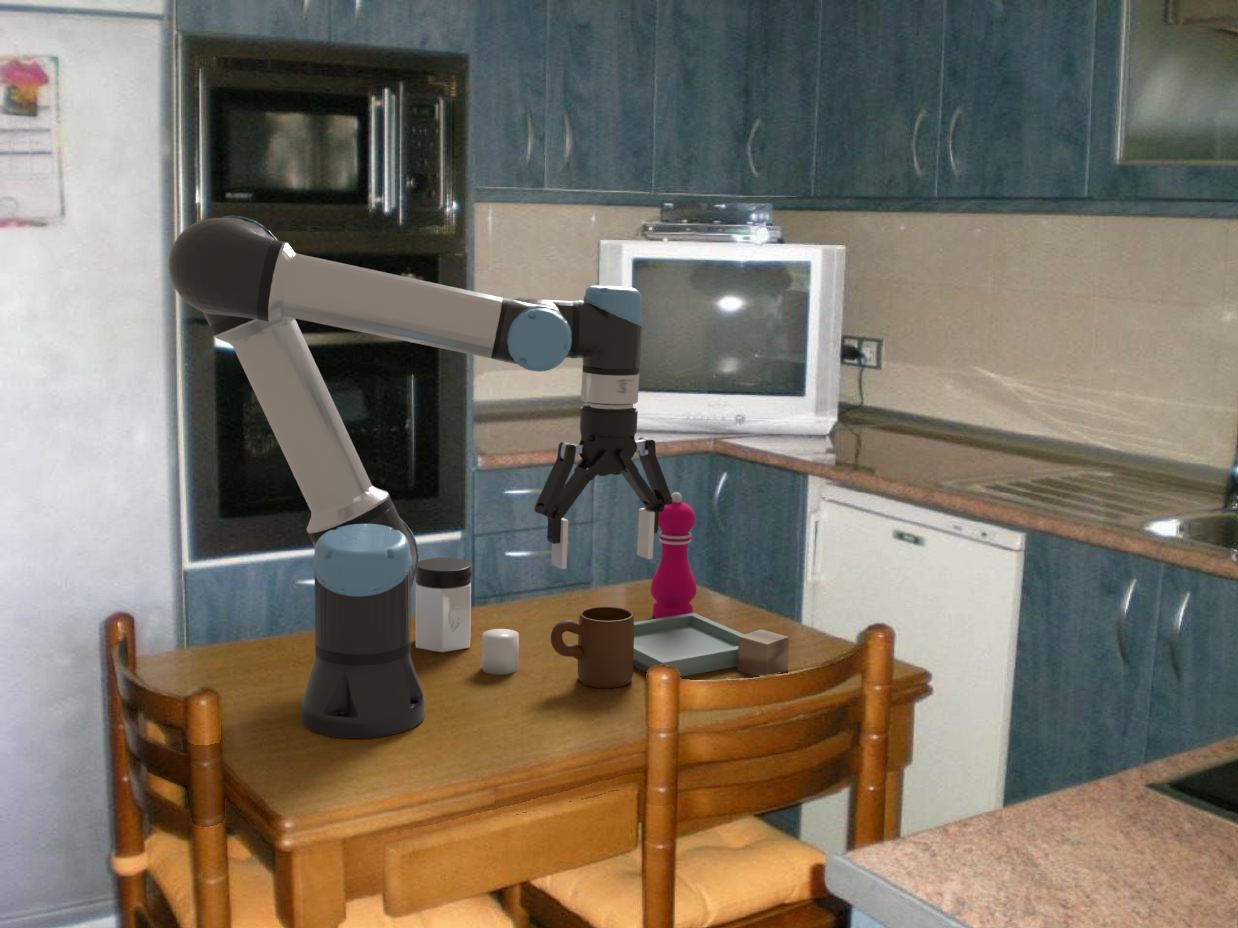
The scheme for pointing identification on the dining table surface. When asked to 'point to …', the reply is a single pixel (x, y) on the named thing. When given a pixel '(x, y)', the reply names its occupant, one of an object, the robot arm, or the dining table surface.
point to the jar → (443, 604)
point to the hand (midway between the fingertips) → (602, 561)
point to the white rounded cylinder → (500, 651)
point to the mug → (600, 645)
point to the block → (763, 653)
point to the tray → (685, 644)
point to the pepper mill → (674, 561)
